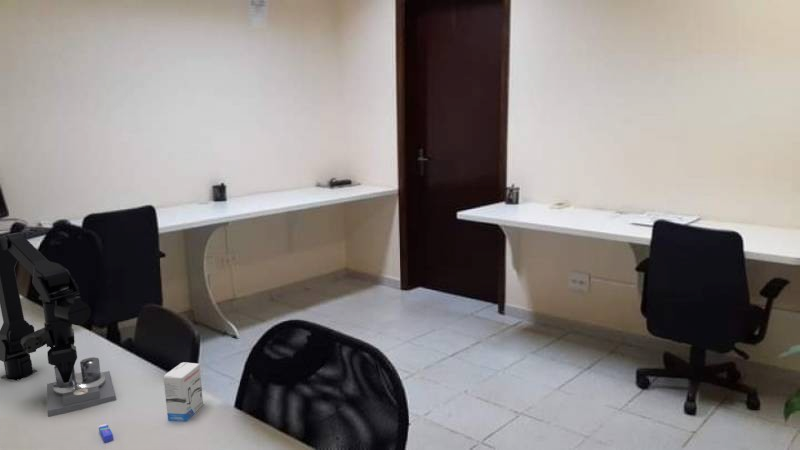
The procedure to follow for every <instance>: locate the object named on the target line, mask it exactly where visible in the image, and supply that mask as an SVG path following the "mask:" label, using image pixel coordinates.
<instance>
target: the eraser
mask: <svg viewBox="0 0 800 450" xmlns="http://www.w3.org/2000/svg"><path fill="white" fill-rule="evenodd" d="M98 433H99V435H100V437H101V438H102V440H103V444H106V443H109V442H112V441H114V434H113V432H112V430H111V429H110V427H109V424H108V423H104V424H101V425H98Z"/></svg>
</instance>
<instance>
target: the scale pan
mask: <svg viewBox="0 0 800 450" xmlns="http://www.w3.org/2000/svg"><path fill="white" fill-rule="evenodd" d="M75 377H76V383H75V384H74V385H72V386H70V387H66V388H58V387H57V384H56V383H55V384H54V385H53V390H54V392H55V393H57V394H60V395H62V394H63V393H68V392H72V391H76V390H78V389H86V388H91V387H95V386H98V387H99V386H101V385H102V384H103V383H104V382H105V375H104V374H103V373H102V372H101V378H100V379H99V380H97V381H94V382H83V381H82V374H81V371H80V372H77V373H76V372H75Z"/></svg>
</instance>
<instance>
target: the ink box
mask: <svg viewBox="0 0 800 450" xmlns="http://www.w3.org/2000/svg"><path fill="white" fill-rule="evenodd" d="M163 385H164V395H165V403H166V404H165V405H166V414H167V421H168V422H182V423H183V422H188V420H189V419H191V418H192V417H193V416H194V415H195V413H196V412H197V411H199V409H200V408H201V407H202V406H203V405H204V397H203V388H202V375H201V365H200V363H196V362H186V361H185V362H184V361H183V362H180V363H179V364H178V365H176V366H175V367H173V368H172V369H171V370H169V371H168V372H167V373H165V374H164V376H163Z"/></svg>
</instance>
